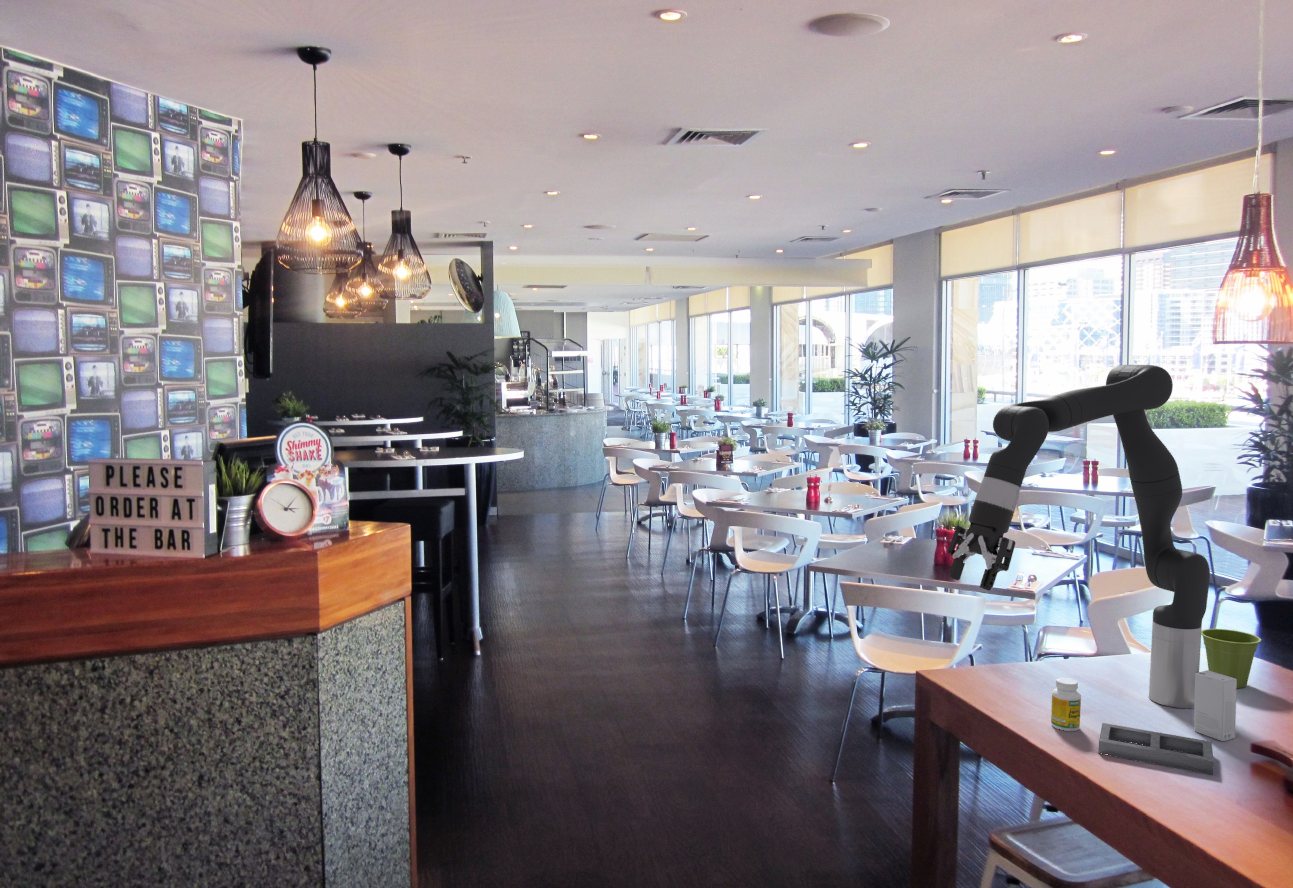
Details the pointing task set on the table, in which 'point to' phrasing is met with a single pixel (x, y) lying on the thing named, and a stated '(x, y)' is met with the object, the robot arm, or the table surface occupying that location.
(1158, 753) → the rail
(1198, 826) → the table surface
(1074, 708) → the supplement bottle
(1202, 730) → the skincare box
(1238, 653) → the plant pot
